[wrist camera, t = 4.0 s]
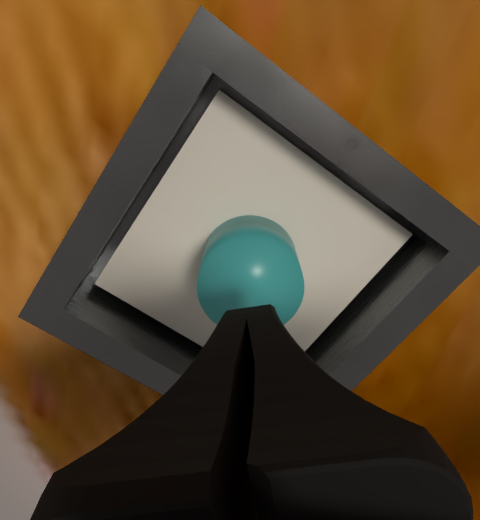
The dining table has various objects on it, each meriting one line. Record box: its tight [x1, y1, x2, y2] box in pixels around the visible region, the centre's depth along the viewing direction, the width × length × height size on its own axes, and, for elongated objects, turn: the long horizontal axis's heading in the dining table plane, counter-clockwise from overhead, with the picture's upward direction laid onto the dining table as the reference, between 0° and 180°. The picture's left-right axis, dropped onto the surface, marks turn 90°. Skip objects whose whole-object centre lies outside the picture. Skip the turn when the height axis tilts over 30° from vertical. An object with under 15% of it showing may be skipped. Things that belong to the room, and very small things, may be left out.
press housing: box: [18, 5, 480, 395], centre depth 17 cm, size 12×12×4 cm
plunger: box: [94, 88, 413, 351], centre depth 16 cm, size 9×9×4 cm
